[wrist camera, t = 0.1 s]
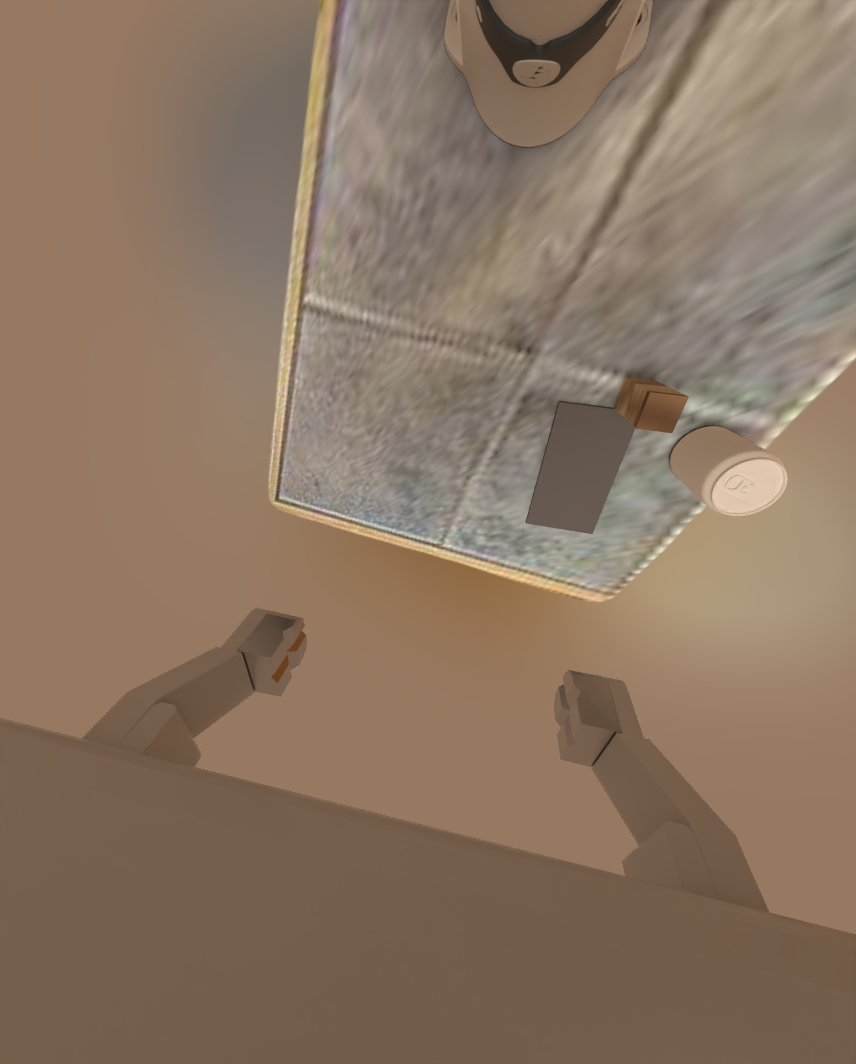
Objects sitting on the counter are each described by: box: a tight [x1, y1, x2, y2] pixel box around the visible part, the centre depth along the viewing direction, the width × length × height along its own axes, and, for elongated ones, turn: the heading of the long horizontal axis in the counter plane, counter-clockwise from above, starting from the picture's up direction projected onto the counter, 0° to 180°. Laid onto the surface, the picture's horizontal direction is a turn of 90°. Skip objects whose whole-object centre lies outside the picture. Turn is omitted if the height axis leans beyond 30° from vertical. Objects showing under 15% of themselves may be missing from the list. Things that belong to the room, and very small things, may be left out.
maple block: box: [614, 377, 689, 433], centre depth 44 cm, size 4×4×10 cm
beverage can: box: [670, 426, 787, 516], centre depth 46 cm, size 8×8×12 cm
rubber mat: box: [526, 401, 635, 534], centre depth 55 cm, size 20×11×1 cm, turn 175°
